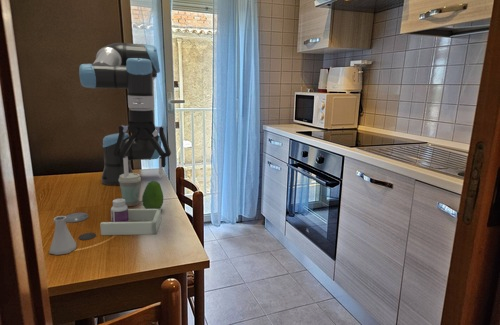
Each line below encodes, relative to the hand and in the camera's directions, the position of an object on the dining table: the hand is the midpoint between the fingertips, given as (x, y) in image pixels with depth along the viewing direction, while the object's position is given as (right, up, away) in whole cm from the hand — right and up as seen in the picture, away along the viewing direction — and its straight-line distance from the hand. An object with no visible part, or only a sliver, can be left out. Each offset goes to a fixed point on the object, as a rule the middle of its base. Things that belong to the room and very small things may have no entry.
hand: (143, 176), depth 110 cm
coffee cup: (-13, -12, +24) cm, 30 cm away
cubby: (-5, -17, +4) cm, 19 cm away
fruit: (-2, -14, +18) cm, 23 cm away
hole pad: (-17, -19, -4) cm, 26 cm away
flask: (-20, -21, -13) cm, 32 cm away
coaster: (-27, -15, +9) cm, 33 cm away
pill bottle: (-9, -18, +3) cm, 20 cm away
